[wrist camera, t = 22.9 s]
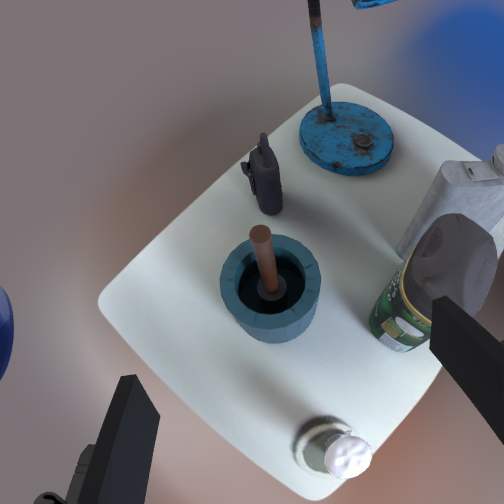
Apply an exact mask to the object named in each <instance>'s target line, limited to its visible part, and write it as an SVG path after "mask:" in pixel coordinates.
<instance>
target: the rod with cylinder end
mask: <svg viewBox="0 0 504 504" xmlns="http://www.w3.org/2000/svg"><path fill="white" fill-rule="evenodd" d="M249 236H250V240H251V244H252V247H253V250H254V254H255V257H256V261H257V264H258V268H259V271H260V275H261V278H260V279H259V281H258V284H257V291H258V294H259V297H260V300H261V302H262V305H263V308H264V309H265V311H267V312H268V313H270V314H277V313H282V312H283V311H285V309H286V308H287V306H288V294H287V284H286V281H285V279H284V278H283V277H282V276H281V275H279V274H277V268H276V261H275V255H274V248H273V242H272V236H271V231H270V229H269V228H268V227H267V226H265V225H257V226H255V227H253V228H252V229H251V231H250V234H249Z"/></svg>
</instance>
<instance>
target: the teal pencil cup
mask: <svg viewBox="0 0 504 504" xmlns="http://www.w3.org/2000/svg"><path fill="white" fill-rule="evenodd" d="M271 236H272V242H273V248H274V255H275V261H276V268H277V274H279V275H281V276H282V277H283V278H284V279H285V281H286V284H287V294H288V306H287V308H286V309H285V311H283V312H282V313H277V314H270V313H268V312H267V311H265V309H264V308H263V305H262V302H261V300H260V297H259V294H258V291H257V284H258V281H259V279H260V278H261V275H260V271H259V268H258V264H257V261H256V257H255V254H254V250H253V247H252V244H251V240H250V239H249V240H247V241H245V242H243V243H241V244H240V245H239V246H238V247H237V248H236V249H234V250H233V251H232V252H231V253H230V255H229V257H228V258H227V260H226V262H225V263H224V265H223V268H222V272H221V276H220V289H221V296H222V298H223V300H224V302H225V305H226V307H227V309H228V310H229V311H230V313H231V314H232V315H233V317H234V318H235V319H236V320H237V322H238V323H239V324H240V326H241V327H242V328H243V329H244V330H245V331H246V332H247V333H248V334H249V335H251V336H252V337H254V338H255V339H257V340H260V341H263V342H267V343H282V342H286V341H289V340H292V339H294V338H296V337H297V336H299V335H300V334H301V333H302V332H304V331H305V330H306V328H307V327H308V326H309V324H310V323H311V321H312V319H313V316H314V314H315V310H316V306H317V301H318V297H319V292H320V284H321V275H320V271H319V266H318V263H317V261H316V260H315V258H314V256H313V255H312V253H311V251H309V250H308V249H307V248H306V247H305V246H304V245H302V244H301V243H300V242H298V241H296V240H294V239H292V238H289V237H287V236H284V235H275V234H271Z"/></svg>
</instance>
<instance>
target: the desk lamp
mask: <svg viewBox="0 0 504 504" xmlns="http://www.w3.org/2000/svg"><path fill="white" fill-rule="evenodd" d="M351 1H352V3H353V5H354V7H355V8H356V9H367V8H372V7H376V6H380V5H384V4H387V3H390V2H394V1H397V0H351ZM308 8H309V17H310V27H311V33H312V39H313V47H314V54H315V60H316V68H317V74H318V81H319V88H320V95H321V101H322V105H320V106H317V107H315V108H313V109H312V110H311V111H309V112H308V113H307V114H306V115H305V117H304V118H303V119H302V122H301V125H300V133H299V136H300V144H301V146H302V148H303V150H304V152H305V154H306V155H307V156H308V157H309V158H310V159H311V160H312V161H313V162H315V163H316V164H318V165H319V166H321V167H322V168H324V169H327V170H329V171H332V172H334V173H339V174H344V175H363V174H368V173H372V172H374V171H376V170H378V169H380V168H381V167H383V166H384V165H385V164H386V162H387V161H388V160H389V158H390V156H391V153H392V149H393V134H392V131H391V128H390V127H389V125H388V124H387V123H386V121H385V120H384V119H383V118H382V117H381V116H379V115H378V114H377V113H375V112H374V111H372V110H370V109H368V108H366V107H363V106H361V105H358V104H353V103H348V102H332V103H331V96H330V87H329V79H328V73H327V64H326V56H325V47H324V40H323V32H322V23H321V13H320V1H319V0H308Z"/></svg>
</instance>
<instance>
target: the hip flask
mask: <svg viewBox="0 0 504 504" xmlns="http://www.w3.org/2000/svg"><path fill="white" fill-rule="evenodd" d="M450 213H461V214H463V215H465V216H466V217H468V218H469V219H471V220H473V221H474V222H475V223H477V224H478V225H480V226H481V227H482V228H483V229H484V230H486V231H487V232H489V231H490V230H491V229H492V228H493V227H494V226H495V225H496V224H497V223H498V221H499V220H500V219H501V218H502V217H503V216H504V144H500V145H498V146H497V148H496V149H495V151H494V155H493V157H492V159H491V160H490V161H474V162H470V161H445V162H444V163H443V164H442V165H441V167H440V169H439V171H438V173H437V175H436V177H435V179H434V181H433V183H432V185H431V187H430V189H429V191H428V193H427V195H426V197H425V198H424V200H423V202H422V204H421V206H420V208H419V209H418V211H417V213H416V215H415V217H414V218H413V220H412V222H411V224H410V225H409V227H408V229H407V231H406V232H405V234H404V236H403V238H402V239H401V241H400V243H399V244H398V247H397V252H398V255H399V256H400V257H401V258H402V259H403V260H405V259H406V258H407V256H408V255H409V254H410V252H411V251H412V250H413V248H414V247H415V246H416V244H417V243H418V241H419V240H420V238H421V237H422V236H423V234H424V233H425V232H426V231H427V229H428V228H429V227H430V225H431V224H432V223H433V222H434V221H435V220H436V219H437V218H438V217H440V216H442V215H445V214H450Z"/></svg>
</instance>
